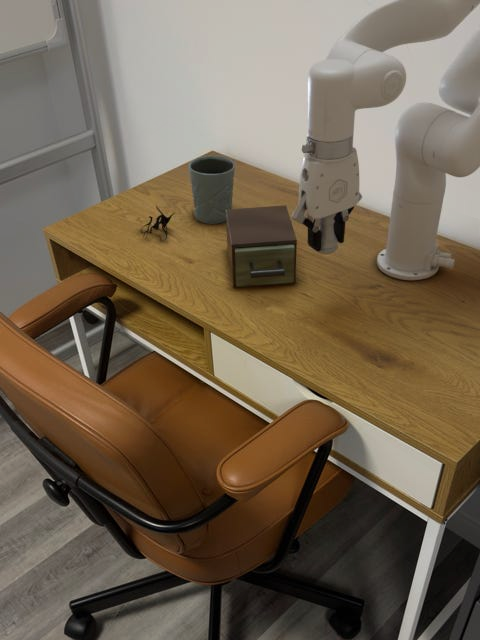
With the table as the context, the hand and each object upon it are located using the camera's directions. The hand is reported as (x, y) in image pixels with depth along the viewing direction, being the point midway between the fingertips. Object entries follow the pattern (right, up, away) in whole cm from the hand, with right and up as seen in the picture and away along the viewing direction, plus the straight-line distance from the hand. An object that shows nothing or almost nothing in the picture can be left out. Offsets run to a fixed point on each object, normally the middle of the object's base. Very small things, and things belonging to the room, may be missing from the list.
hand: (326, 243), depth 128 cm
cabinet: (-11, 0, +19) cm, 22 cm away
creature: (-34, +10, +30) cm, 47 cm away
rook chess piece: (0, -1, +1) cm, 1 cm away
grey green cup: (-22, +16, +36) cm, 45 cm away
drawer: (-11, -2, +15) cm, 19 cm away
